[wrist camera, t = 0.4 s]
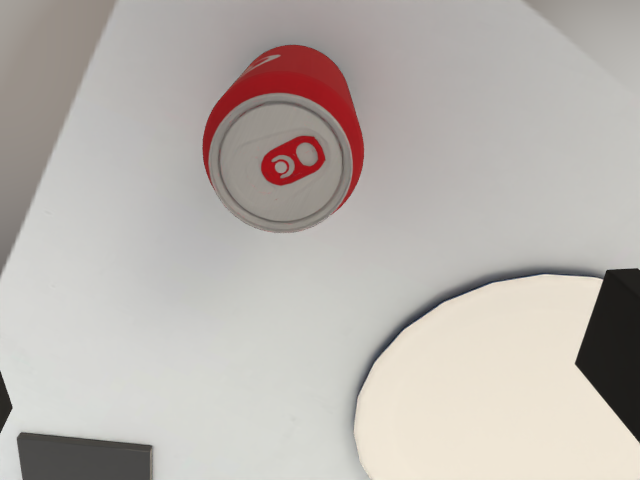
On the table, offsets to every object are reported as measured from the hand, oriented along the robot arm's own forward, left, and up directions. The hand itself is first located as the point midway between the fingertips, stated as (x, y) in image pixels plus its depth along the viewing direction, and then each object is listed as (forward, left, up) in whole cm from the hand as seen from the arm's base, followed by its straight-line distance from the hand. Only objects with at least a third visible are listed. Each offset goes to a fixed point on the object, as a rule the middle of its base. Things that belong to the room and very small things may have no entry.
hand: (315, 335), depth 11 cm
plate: (+14, +22, -21) cm, 34 cm away
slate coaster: (+34, -6, -21) cm, 40 cm away
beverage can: (0, -2, -21) cm, 21 cm away
